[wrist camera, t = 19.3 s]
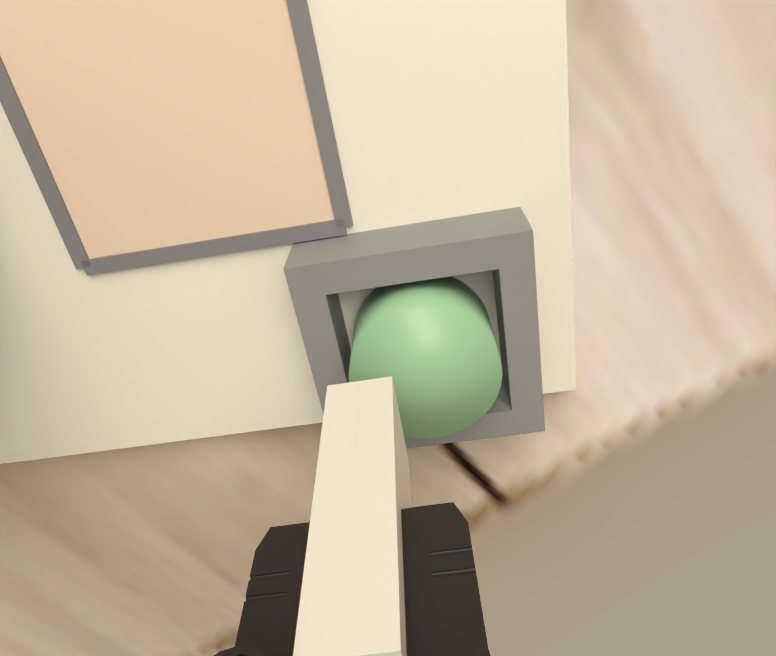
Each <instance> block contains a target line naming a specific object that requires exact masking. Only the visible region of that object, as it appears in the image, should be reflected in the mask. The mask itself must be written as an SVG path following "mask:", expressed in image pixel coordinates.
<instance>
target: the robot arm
mask: <svg viewBox="0 0 776 656" xmlns="http://www.w3.org/2000/svg"><path fill="white" fill-rule="evenodd" d="M250 577H251V579H250V581H249V583H248V588H247V593H246V602H244V606H243V611H242V616H241V620H240V625H239V630H238V634H237V639H236V644H235V647H233V648H230V649H227V650H223V651H220V652H219V653H217V654H216V655H214V656H490V653H489V650H488V645H487V638H486V632H485V626H484V620H483V614H482V608H481V602H480V595H479V589H478V582H477V577H476V570H475V564H474V558H473V551H472V545H471V539H470V533H469V527H468V522H467V520H466V519H465V518H464V516H463V515H462V513H461V512H460V511H459V509H458V508H457V507H456V505H455V504H454V503H453V502H451V503H444V504H436V505H428V506H420V507H413V508H412V495H411V479H410V465H409V460H408V455H407V450H406V445H405V440H404V435H403V429H402V424H401V419H400V414H399V409H398V404H397V399H396V394H395V388H394V383H393V378H392V376H390V377H383V378H376V379H370V380H363V381H356V382H349V383H342V384H335V385H328V386H327V391H326V399H325V407H324V415H323V423H322V431H321V438H320V446H319V454H318V462H317V470H316V478H315V486H314V494H313V501H312V509H311V517H310V522H308V523H301V524H293V525H285V526H277V527H271V528H270V529H269V531H268V532H267V534H266V535H265V537H264V538H263V540H262V541H261V543H260V544H259V546H258V547H257V549H256V551H255V555H254V560H253V565H252V569H251V574H250Z"/></svg>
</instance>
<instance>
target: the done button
mask: <svg viewBox="0 0 776 656" xmlns="http://www.w3.org/2000/svg"><path fill="white" fill-rule="evenodd" d="M390 376H392V378H393V383H394V388H395V394H396V399H397V404H398V409H399V414H400V419H401V424H402V429H403V435H404V437H408V438H416V439H430V438H439V437H444V436H448V435H451V434H455V433H457V432H459V431H462V430H464V429H466V428H468V427H469V426H471V425H473V424H474V423H475V422H477V421H478V420H479V419H480V418H481V417H483V416H484V415H485V414H486V412H487V411H488V410H489V409H490V408H491V406H492V405H493V403H494V402H495V400H496V398H497V396H498V394H499V390H500V387H501V382H502V365H501V360H500V356H499V352H498V349H497V345H496V341H495V338H494V334H493V330H492V327H491V323H490V319H489V316H488V313H487V310H486V308H485V306H484V304H483V302H482V300H481V299H480V298H479V296H478V295H477V294H476V293H475V292H474V291H473V290H472V289H471V288H470V287H469V286H467V285H466V284H465V283H463V282H461V281H460V280H458V279H456V278H454V277H451V276H449V277H443V278H436V279H429V280H422V281H416V282H409V283H402V284H396V285H389V286H382V287H376V288H375V289H374V290H373V291H372V292H371V293H370V294H369V295H368V296H367V297H366V298H365V300H364V301H363V303H362V304H361V306H360V308H359V310H358V313H357V316H356V319H355V325H354V332H353V341H352V349H351V357H350V366H349V382H356V381H363V380H370V379H376V378H383V377H390Z"/></svg>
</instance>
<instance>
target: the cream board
mask: <svg viewBox="0 0 776 656" xmlns="http://www.w3.org/2000/svg"><path fill="white" fill-rule="evenodd" d="M449 276H451V277H454V278H456V279H458V280H460V281H461V282H463V283H465V284H466V285H467V286H469V287H470V288H471V289H472V290H473V291H474V292H475V293H476V294H477V295H478V296H479V298H480V299H481V300H482V302H483V304H484V306H485V308H486V310H487V313H488V316H489V319H490V323H491V327H492V330H493V334H494V338H495V341H496V345H497V349H498V352H499V356H500V360H501V365H502V382H501V387H500V390H499V394H498V396H497V398H496V400H495V402H494V403H493V405H492V406H491V408H490V409H489V410H488V411H487V412H486V414H485V415H484V416H483V417H481V418H480V419H479V420H478V421H477V422H475V423H474V424H473V425H471V426H469V427H468V428H466V429H464V430H462V431H459V432H457V433H455V434H451V435H448V436H444V437H439V438H430V439H416V438H408V437H404V440H405V445H406V448H412V447H420V446H428V445H436V444H444V443H452V442H460V441H468V440H476V439H484V438H492V437H500V436H508V435H516V434H524V433H532V432H540V431H545V424H544V407H543V394H545V393H553V392H561V391H568V390H576V368H575V331H574V294H573V257H572V220H571V182H570V145H569V108H568V71H567V34H566V0H0V464H6V463H13V462H21V461H29V460H37V459H44V458H52V457H60V456H67V455H75V454H83V453H91V452H98V451H106V450H114V449H121V448H129V447H137V446H144V445H152V444H160V443H168V442H175V441H183V440H191V439H198V438H206V437H214V436H222V435H229V434H237V433H245V432H252V431H260V430H268V429H275V428H283V427H291V426H299V425H306V424H314V423H322V422H323V415H324V407H325V399H326V391H327V386H328V385H335V384H342V383H349V366H350V357H351V349H352V341H353V332H354V325H355V319H356V316H357V313H358V310H359V308H360V306H361V304H362V303H363V301H364V300H365V298H366V297H367V296H368V295H369V294H370V293H371V292H372V291H373V290H374V289H375V288H376V287H382V286H389V285H396V284H402V283H409V282H416V281H422V280H429V279H436V278H443V277H449Z"/></svg>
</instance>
